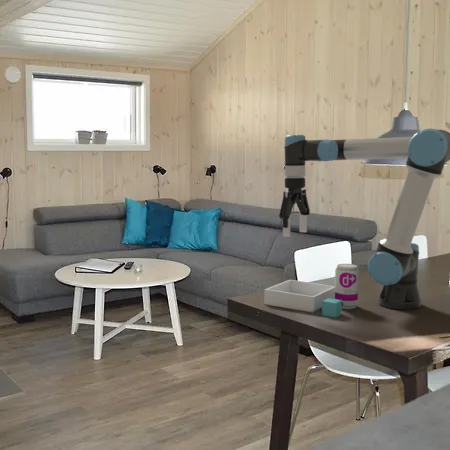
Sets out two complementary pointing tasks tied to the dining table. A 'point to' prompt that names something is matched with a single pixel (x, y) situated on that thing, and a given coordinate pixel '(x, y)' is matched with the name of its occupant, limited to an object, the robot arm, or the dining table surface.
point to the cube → (331, 307)
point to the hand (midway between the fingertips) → (295, 234)
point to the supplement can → (347, 285)
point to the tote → (299, 295)
